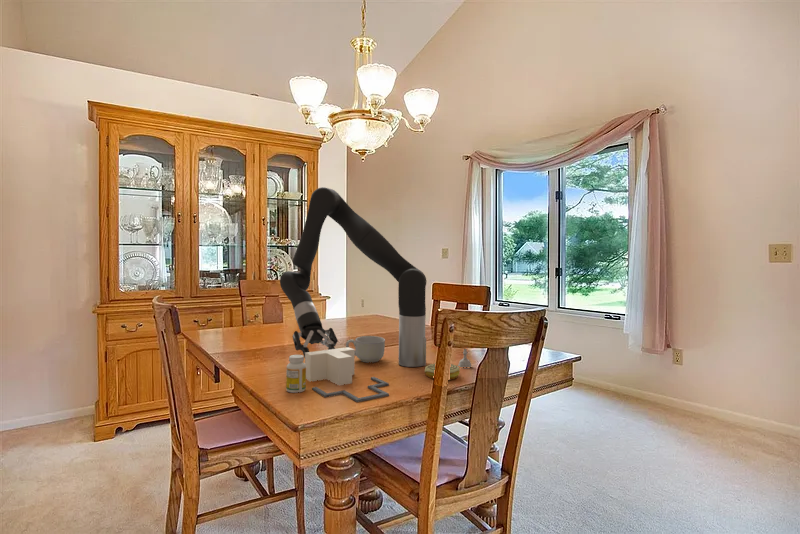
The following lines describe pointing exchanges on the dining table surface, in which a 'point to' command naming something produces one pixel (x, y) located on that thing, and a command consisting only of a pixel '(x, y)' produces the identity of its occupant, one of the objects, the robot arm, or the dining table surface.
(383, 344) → the teacup
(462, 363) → the grey tall turned piece
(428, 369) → the decorated donut
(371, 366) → the dining table surface
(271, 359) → the dining table surface
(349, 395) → the t outline
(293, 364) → the supplement bottle
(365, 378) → the dining table surface
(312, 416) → the dining table surface
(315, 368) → the t block
